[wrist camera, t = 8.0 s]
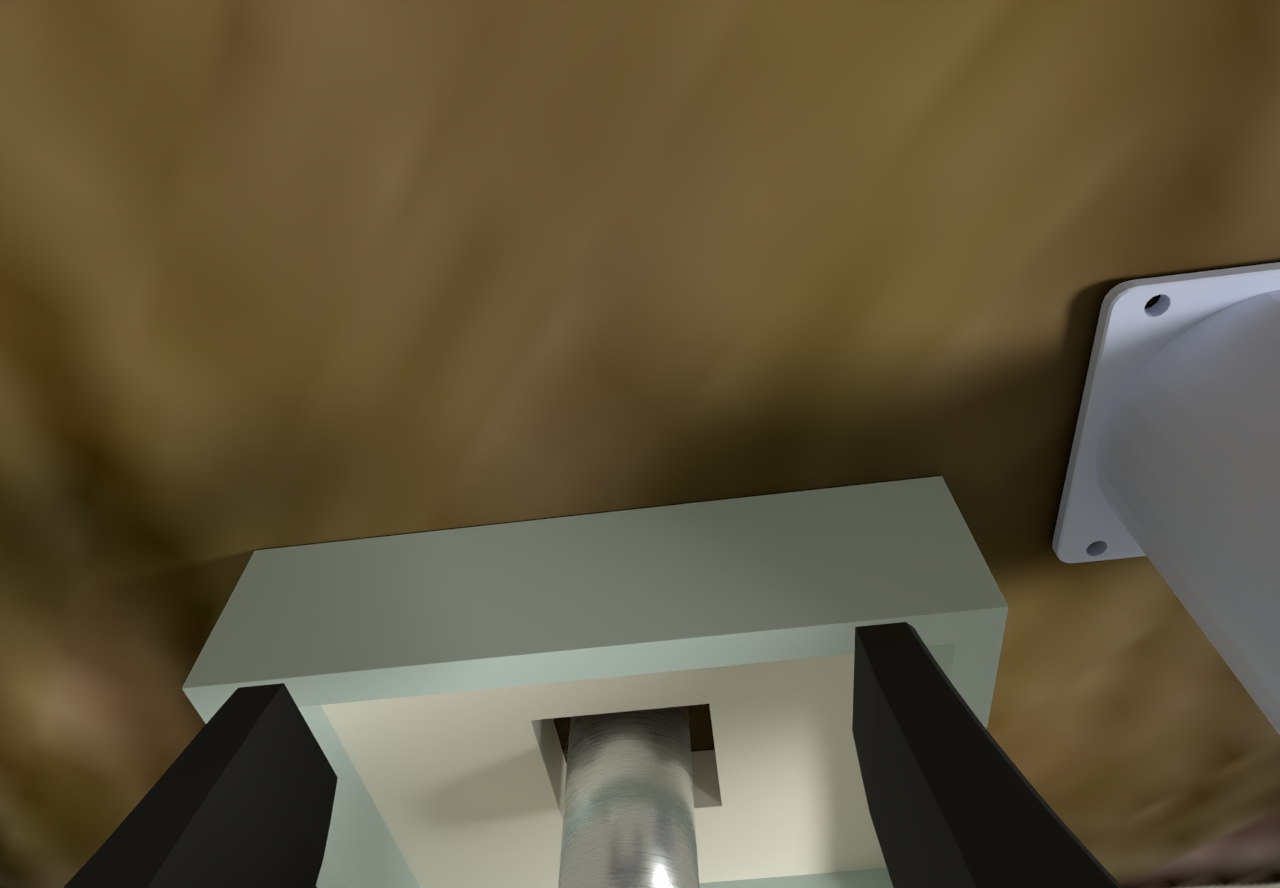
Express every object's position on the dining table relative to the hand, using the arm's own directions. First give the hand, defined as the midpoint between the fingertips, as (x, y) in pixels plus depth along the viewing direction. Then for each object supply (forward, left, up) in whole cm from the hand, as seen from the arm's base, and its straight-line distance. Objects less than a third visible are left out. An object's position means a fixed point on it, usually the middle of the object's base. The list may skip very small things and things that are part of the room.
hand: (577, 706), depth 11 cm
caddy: (+1, +13, -10) cm, 16 cm away
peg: (+1, +13, -10) cm, 16 cm away
